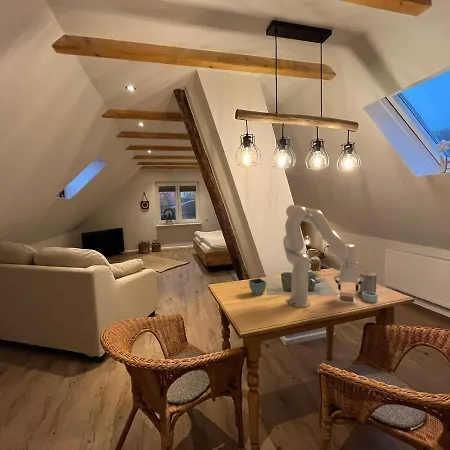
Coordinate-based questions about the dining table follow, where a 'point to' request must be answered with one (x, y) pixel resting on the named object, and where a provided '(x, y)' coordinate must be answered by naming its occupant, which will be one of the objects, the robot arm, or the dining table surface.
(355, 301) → the mat
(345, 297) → the board
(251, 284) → the flower pot
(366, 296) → the bowl
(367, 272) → the pillar candle
